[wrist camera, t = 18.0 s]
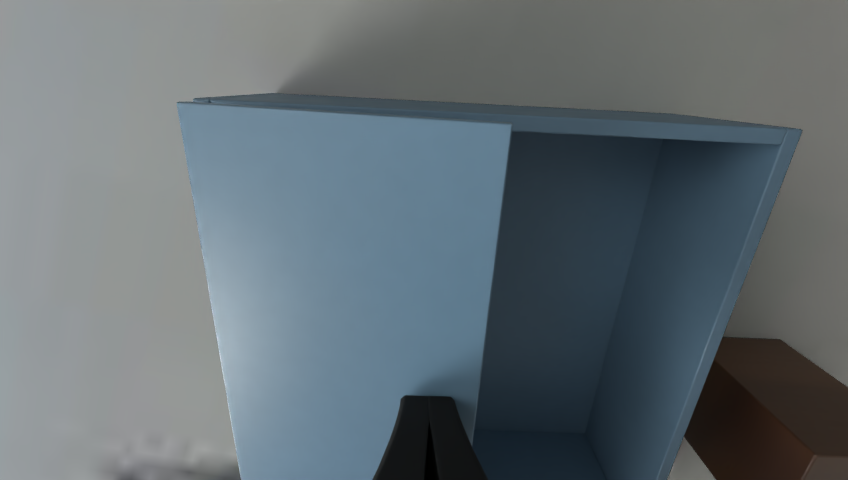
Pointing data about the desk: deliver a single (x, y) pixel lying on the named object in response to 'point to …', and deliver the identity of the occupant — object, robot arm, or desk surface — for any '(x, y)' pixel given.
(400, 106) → the carton
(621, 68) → the desk surface
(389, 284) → the flap
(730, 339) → the walnut block
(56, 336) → the desk surface
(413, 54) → the desk surface
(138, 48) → the desk surface
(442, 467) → the robot arm
